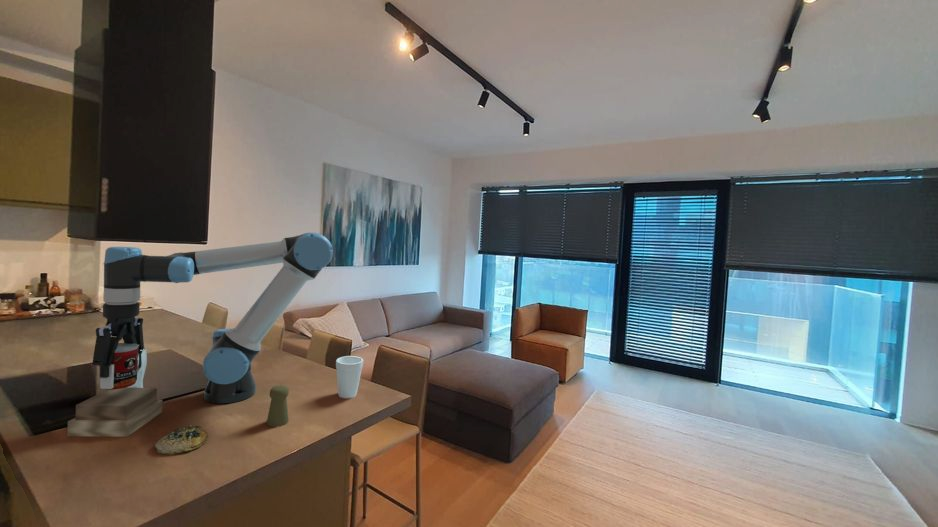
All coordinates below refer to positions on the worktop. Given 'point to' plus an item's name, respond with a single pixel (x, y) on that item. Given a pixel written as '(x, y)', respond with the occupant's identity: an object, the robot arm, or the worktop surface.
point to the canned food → (125, 365)
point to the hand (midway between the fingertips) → (119, 382)
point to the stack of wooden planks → (115, 412)
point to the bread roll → (182, 440)
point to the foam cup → (348, 375)
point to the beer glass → (140, 369)
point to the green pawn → (278, 406)
